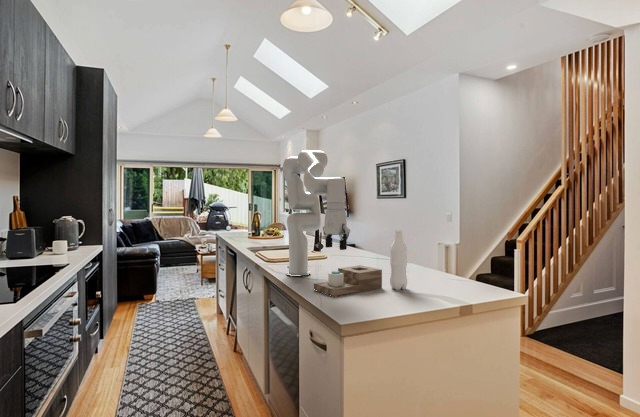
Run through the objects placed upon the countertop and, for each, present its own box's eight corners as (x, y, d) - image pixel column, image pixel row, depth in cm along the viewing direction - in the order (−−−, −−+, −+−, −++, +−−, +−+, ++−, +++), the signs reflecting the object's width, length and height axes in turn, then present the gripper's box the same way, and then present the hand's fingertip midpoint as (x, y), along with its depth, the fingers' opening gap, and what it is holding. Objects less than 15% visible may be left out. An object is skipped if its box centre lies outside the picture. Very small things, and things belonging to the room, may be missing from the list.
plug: (328, 289, 162) (328, 271, 161) (337, 288, 164) (336, 270, 164) (334, 291, 158) (334, 272, 158) (343, 290, 160) (343, 271, 160)
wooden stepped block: (313, 290, 163) (313, 271, 163) (360, 282, 178) (360, 265, 178) (333, 297, 151) (333, 276, 151) (381, 288, 166) (381, 269, 166)
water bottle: (408, 290, 162) (408, 231, 161) (391, 290, 162) (391, 231, 161) (405, 286, 169) (405, 229, 168) (388, 286, 169) (388, 229, 168)
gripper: (316, 207, 165) (316, 247, 165) (341, 207, 151) (341, 251, 151) (330, 206, 169) (330, 245, 170) (356, 207, 155) (356, 250, 156)
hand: (335, 248), depth 161 cm, fingers open, 9 cm apart
